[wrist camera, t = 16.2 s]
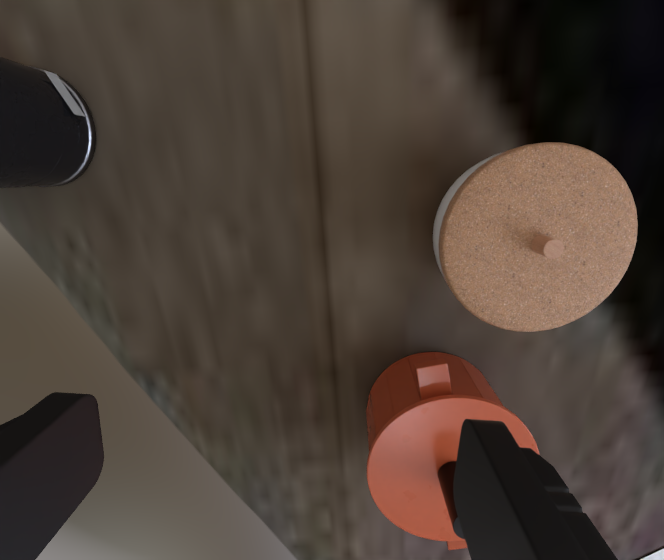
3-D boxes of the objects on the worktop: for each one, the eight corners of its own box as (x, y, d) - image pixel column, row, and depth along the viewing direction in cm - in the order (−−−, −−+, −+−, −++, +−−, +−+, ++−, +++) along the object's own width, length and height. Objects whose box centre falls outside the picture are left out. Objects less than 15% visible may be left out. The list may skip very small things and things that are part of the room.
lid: (382, 540, 35) (389, 612, 29) (351, 406, 31) (352, 458, 26) (541, 517, 34) (580, 588, 28) (526, 375, 30) (567, 423, 24)
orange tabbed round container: (383, 490, 43) (392, 565, 35) (350, 338, 38) (351, 384, 30) (501, 472, 42) (539, 546, 34) (481, 314, 37) (519, 355, 29)
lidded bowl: (501, 319, 37) (562, 378, 27) (389, 245, 36) (407, 277, 25) (597, 203, 34) (709, 219, 24) (479, 117, 33) (543, 93, 22)
